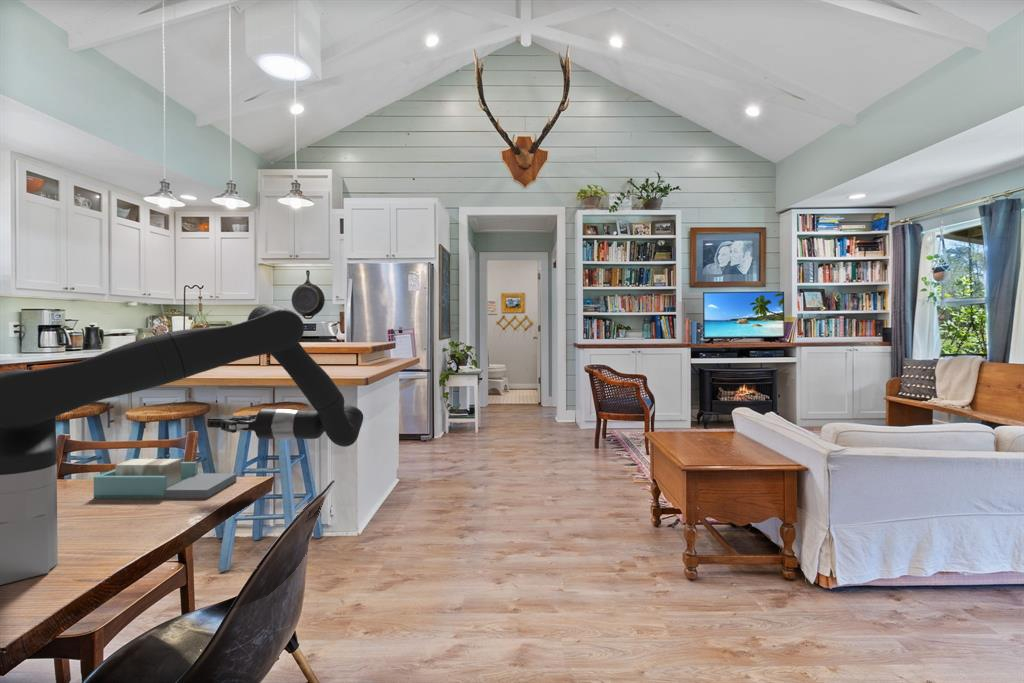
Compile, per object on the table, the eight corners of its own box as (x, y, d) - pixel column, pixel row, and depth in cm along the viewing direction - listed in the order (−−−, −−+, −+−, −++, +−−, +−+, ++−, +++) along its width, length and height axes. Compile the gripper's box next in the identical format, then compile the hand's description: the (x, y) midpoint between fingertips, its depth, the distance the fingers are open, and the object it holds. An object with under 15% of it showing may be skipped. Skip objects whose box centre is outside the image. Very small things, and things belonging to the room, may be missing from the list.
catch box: (197, 480, 136) (197, 462, 135) (163, 498, 122) (163, 477, 122) (134, 480, 135) (134, 461, 135) (93, 498, 121) (93, 477, 121)
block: (181, 458, 131) (132, 458, 131) (166, 465, 125) (115, 465, 125) (181, 482, 132) (132, 482, 131) (166, 489, 126) (115, 489, 125)
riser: (236, 480, 136) (236, 473, 136) (207, 498, 122) (207, 489, 122) (197, 480, 136) (197, 473, 136) (163, 498, 122) (163, 489, 122)
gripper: (290, 405, 136) (222, 403, 135) (268, 412, 122) (193, 411, 122) (289, 434, 136) (222, 432, 135) (267, 444, 122) (193, 442, 122)
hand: (208, 422), depth 128 cm, fingers closed
